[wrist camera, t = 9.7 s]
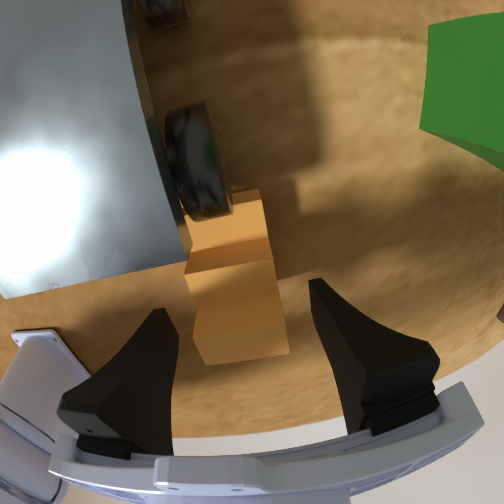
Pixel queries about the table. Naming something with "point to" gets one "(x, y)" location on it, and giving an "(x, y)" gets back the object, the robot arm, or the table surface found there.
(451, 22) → the hardback book
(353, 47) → the table surface
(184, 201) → the trolley
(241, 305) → the orange stepped block
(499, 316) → the notebook
